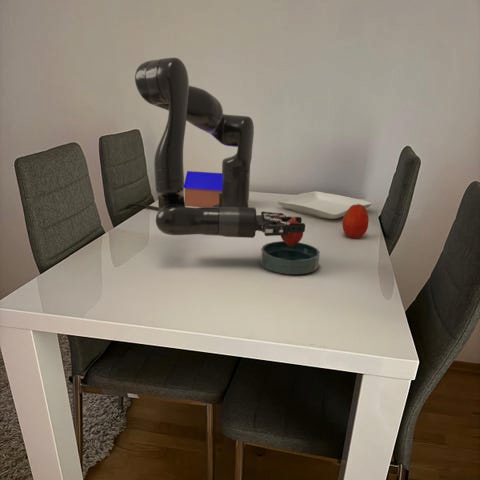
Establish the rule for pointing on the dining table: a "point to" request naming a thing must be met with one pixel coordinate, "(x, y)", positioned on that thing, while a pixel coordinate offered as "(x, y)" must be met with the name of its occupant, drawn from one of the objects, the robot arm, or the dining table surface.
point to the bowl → (290, 258)
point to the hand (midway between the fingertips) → (302, 224)
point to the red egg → (355, 221)
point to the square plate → (321, 204)
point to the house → (202, 188)
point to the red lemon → (292, 235)
